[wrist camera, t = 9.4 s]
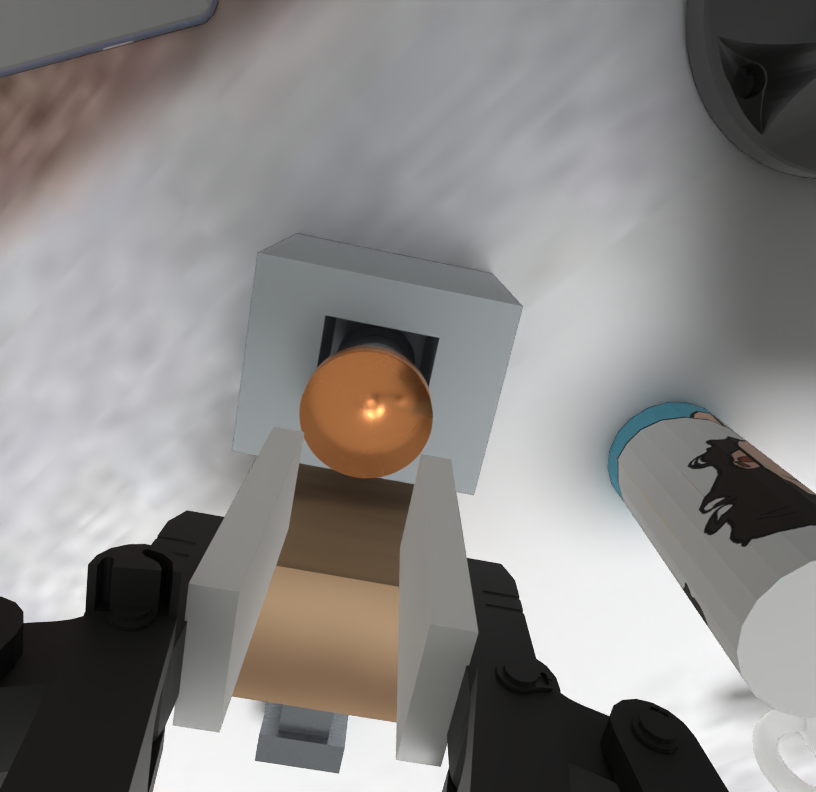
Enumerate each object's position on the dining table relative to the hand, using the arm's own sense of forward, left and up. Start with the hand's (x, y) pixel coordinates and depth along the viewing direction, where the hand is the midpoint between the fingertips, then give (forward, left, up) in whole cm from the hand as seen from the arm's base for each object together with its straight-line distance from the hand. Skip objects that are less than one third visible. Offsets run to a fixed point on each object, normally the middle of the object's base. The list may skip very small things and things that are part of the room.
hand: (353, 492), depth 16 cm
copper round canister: (0, 0, -12) cm, 12 cm away
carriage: (+9, 0, -19) cm, 21 cm away
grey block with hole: (0, 0, -19) cm, 19 cm away
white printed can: (+4, +17, -19) cm, 26 cm away
